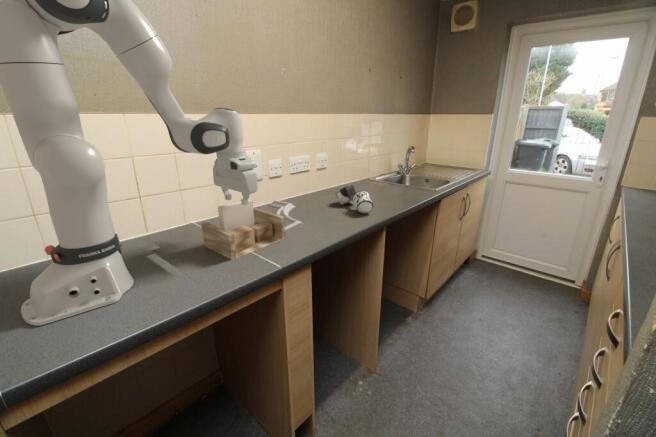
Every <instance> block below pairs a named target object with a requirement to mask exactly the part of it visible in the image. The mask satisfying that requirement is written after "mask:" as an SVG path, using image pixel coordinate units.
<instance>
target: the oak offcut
mask: <svg viewBox="0 0 656 437" xmlns="http://www.w3.org/2000/svg"><path fill="white" fill-rule="evenodd" d="M228 232H230V233H233V234H234V241H235V251H236V253H238V252H240V251H243V250H245V249H248V248H251V247H253V246H255V236H254V229H253V228H250V227H247V226H242V227H238V228H235V229H232V230H229V231H228Z"/></svg>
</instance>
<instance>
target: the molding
mask: <svg viewBox="0 0 656 437" xmlns="http://www.w3.org/2000/svg"><path fill="white" fill-rule="evenodd" d="M270 206H271V208H276V209H278V210H276V212H275V214H278V215H281V216H284V217H285V220H289V221H290V222H293V223H290V224H288V225H287V226H286V225H285V231H287V230H289V229H291V228H293V227H295V226H298V225H299V224H302V225H304V223H303V222H302V221H300V220H298V219H295V218H292V217H291V216H289V213H290V211H291V210H293V209H294V208H296V205H294V204H293V203H291V202H285V201H282V200H280V201H279V200H275V199H274V200H273V201H272V203H270V204H269V207H270Z"/></svg>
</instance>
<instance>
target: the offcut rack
mask: <svg viewBox="0 0 656 437" xmlns="http://www.w3.org/2000/svg"><path fill="white" fill-rule="evenodd" d="M253 211H254V224H255V225H256V224H259V223H262V222H267V223H270V224H272V230H273V237H272V238H270V239H267V240H265V241H262V242H260V243H257V242H255V246H253V247H251V248H248V249H245V250H243V251H240V252H238V253H236V251H235V241H234V234H233V233H230V232H228V231H226V230H223V229H221V228H220V227H219V226H215V225H213V224H211V223H208V222H206V221H205V222H201V223H200V224H201V225H200V226H201V232H202V239H203V244H204V247H206V248H208V249H210V250H211V251H214V252H215V253H218V254H220V255H221V256H224V257H226V258H228V259H230V260H232V261H233V260H235V259H238V258H240V257H243V256H245V255H247V254H250V253H253V252H255V251H257V250H259V249H263V248H265V247H268V246H271V245H272V244H274V243H277V242H279V241H282V240H285V239H286V238H287V235H286V230H285V227H286V218H285V217H284V216H281V215H278V214H276V213H274V212H271V211H267V210H264V209H261V208H257V207H253Z"/></svg>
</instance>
